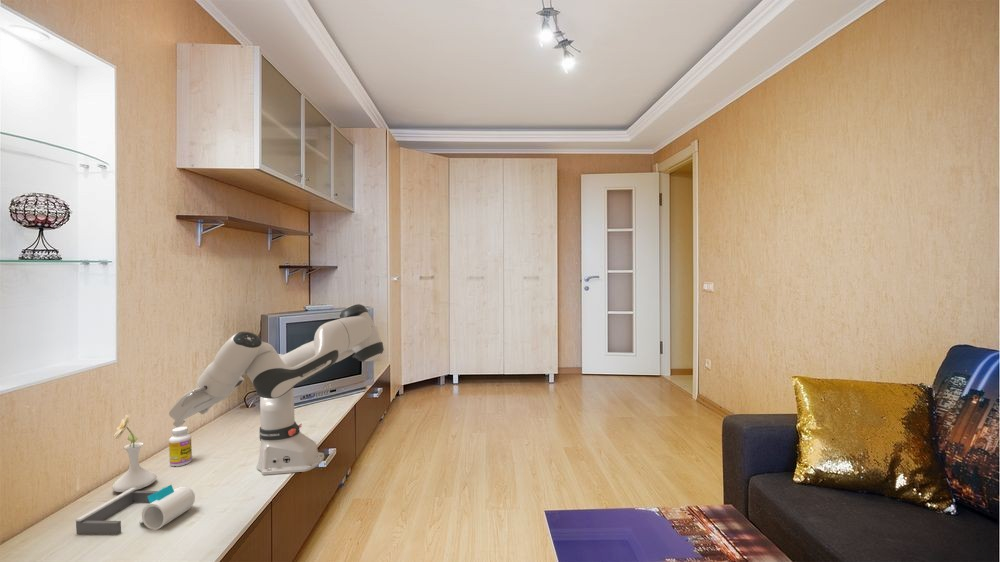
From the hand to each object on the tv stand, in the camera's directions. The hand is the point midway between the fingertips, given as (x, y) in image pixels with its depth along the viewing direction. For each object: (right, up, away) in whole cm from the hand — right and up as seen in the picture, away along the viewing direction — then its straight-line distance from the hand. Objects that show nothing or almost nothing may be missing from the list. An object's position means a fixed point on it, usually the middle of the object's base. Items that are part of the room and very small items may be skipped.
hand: (189, 418), depth 126 cm
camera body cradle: (-20, -29, +2) cm, 35 cm away
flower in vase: (-31, -29, +19) cm, 46 cm away
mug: (-7, -29, +1) cm, 30 cm away
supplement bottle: (-29, -28, +37) cm, 55 cm away
